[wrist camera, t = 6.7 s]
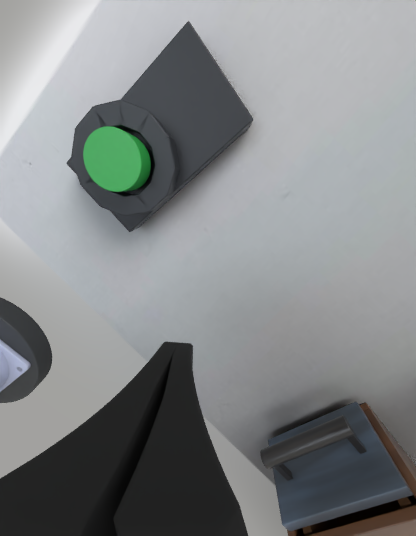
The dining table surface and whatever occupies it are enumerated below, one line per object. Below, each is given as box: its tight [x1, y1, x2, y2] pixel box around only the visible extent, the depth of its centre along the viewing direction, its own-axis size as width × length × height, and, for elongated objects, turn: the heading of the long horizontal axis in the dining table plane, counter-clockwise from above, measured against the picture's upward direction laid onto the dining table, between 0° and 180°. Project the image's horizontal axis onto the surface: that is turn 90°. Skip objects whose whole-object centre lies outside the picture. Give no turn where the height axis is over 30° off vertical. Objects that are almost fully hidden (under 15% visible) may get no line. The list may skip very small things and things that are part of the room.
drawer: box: [261, 402, 416, 536], centre depth 21 cm, size 14×10×7 cm
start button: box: [83, 126, 151, 192], centre depth 13 cm, size 3×3×2 cm
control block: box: [67, 21, 253, 232], centre depth 15 cm, size 11×6×4 cm, turn 129°
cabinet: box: [287, 403, 416, 536], centre depth 22 cm, size 11×11×8 cm
